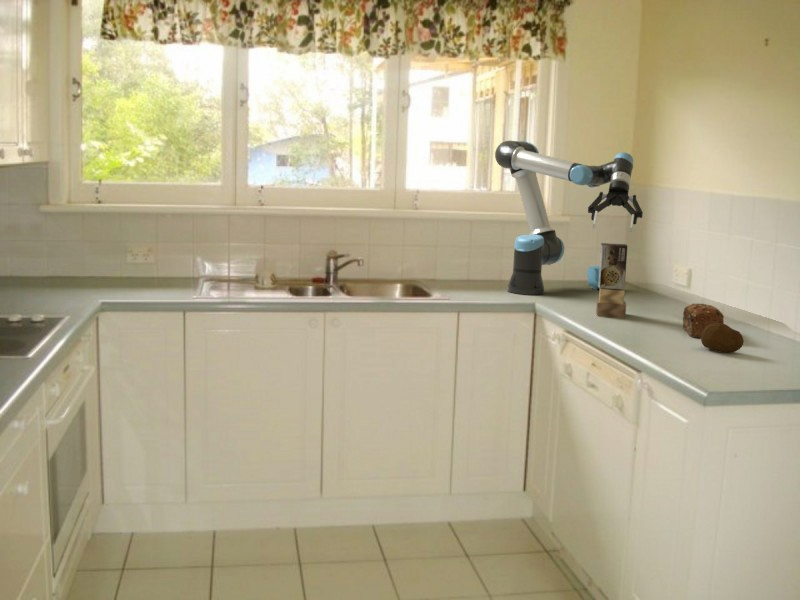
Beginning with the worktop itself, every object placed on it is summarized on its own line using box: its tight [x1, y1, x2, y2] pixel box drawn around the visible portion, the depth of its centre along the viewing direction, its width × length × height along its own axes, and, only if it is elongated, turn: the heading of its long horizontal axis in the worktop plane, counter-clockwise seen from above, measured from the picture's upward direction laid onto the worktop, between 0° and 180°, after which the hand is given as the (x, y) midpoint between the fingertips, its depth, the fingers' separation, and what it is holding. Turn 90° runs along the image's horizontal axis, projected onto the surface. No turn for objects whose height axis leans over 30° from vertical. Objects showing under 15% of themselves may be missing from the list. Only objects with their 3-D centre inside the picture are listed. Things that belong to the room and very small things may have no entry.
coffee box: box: [598, 242, 628, 290], centre depth 322 cm, size 9×6×16 cm
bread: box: [682, 303, 725, 339], centre depth 297 cm, size 19×11×10 cm, turn 170°
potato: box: [700, 323, 745, 354], centre depth 270 cm, size 8×12×9 cm
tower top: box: [598, 288, 626, 305], centre depth 324 cm, size 8×8×5 cm
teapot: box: [587, 265, 600, 290], centre depth 385 cm, size 16×18×11 cm
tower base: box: [595, 298, 627, 319], centre depth 325 cm, size 10×10×5 cm
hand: (612, 228), depth 333 cm, fingers open, 13 cm apart
